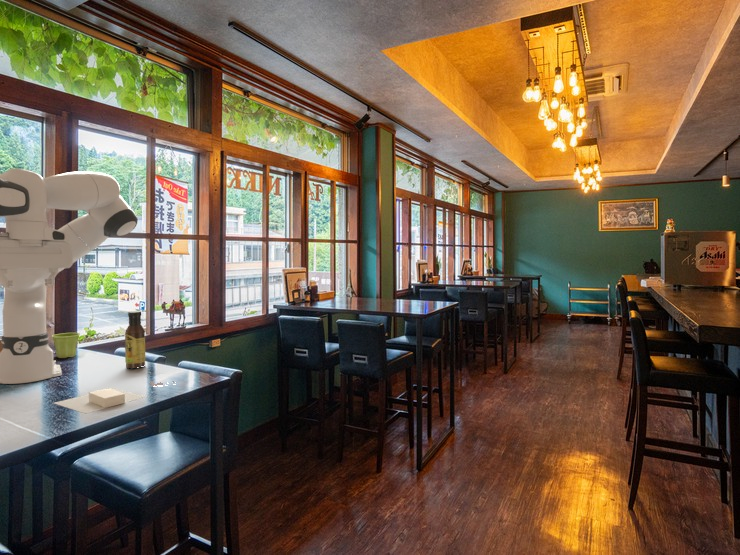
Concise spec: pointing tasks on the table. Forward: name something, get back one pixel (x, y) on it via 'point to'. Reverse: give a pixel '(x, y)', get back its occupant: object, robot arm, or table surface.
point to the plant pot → (65, 344)
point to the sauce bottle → (134, 341)
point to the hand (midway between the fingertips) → (29, 286)
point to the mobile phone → (159, 384)
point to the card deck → (106, 397)
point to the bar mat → (87, 407)
